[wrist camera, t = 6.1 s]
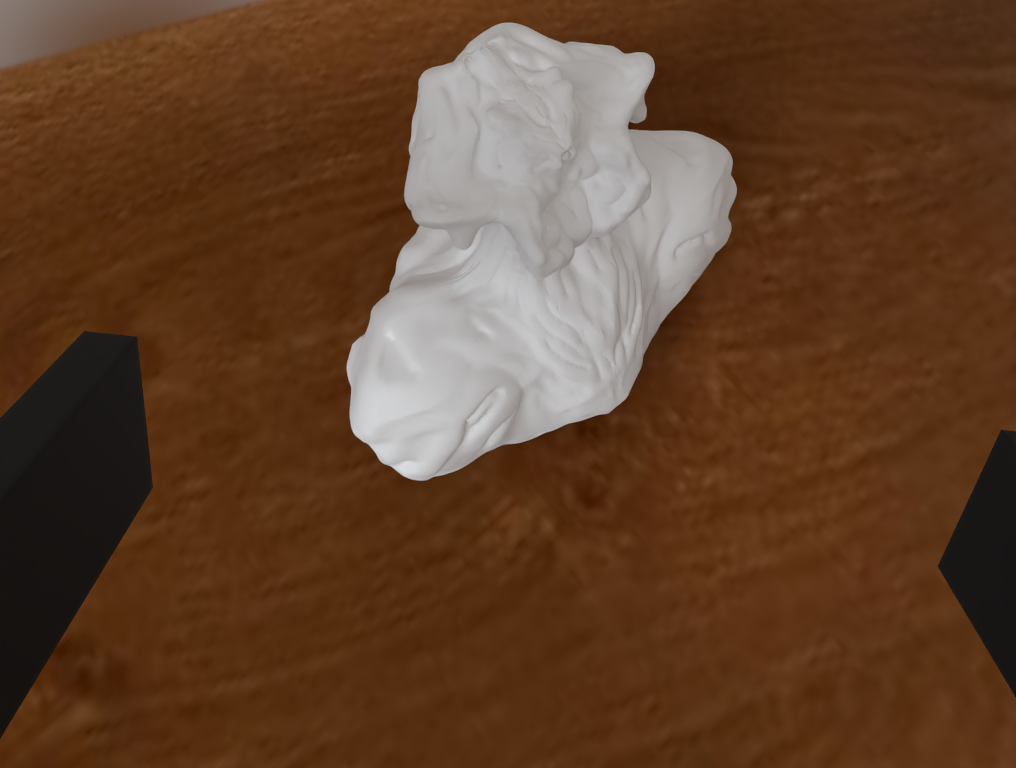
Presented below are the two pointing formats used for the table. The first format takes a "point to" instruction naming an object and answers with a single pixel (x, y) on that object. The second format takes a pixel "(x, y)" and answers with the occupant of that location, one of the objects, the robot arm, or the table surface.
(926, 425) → the table surface
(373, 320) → the bust
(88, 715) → the table surface
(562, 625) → the table surface
